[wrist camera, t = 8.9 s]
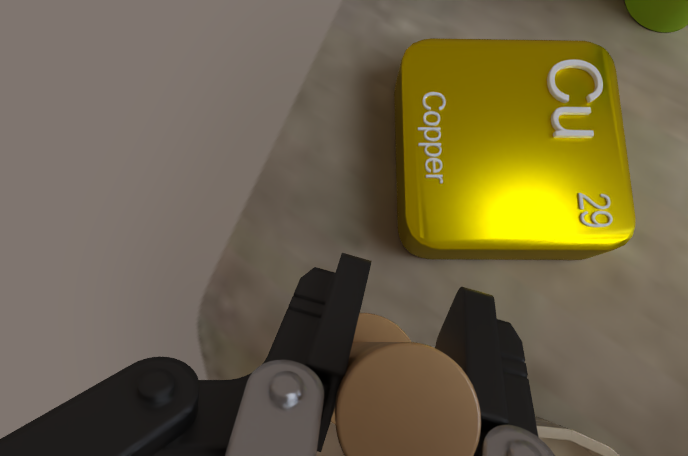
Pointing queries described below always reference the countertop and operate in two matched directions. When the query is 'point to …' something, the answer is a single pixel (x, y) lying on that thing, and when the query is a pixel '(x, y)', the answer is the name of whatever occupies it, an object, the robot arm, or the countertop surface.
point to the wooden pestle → (403, 397)
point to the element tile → (510, 150)
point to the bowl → (570, 441)
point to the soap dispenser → (659, 14)
